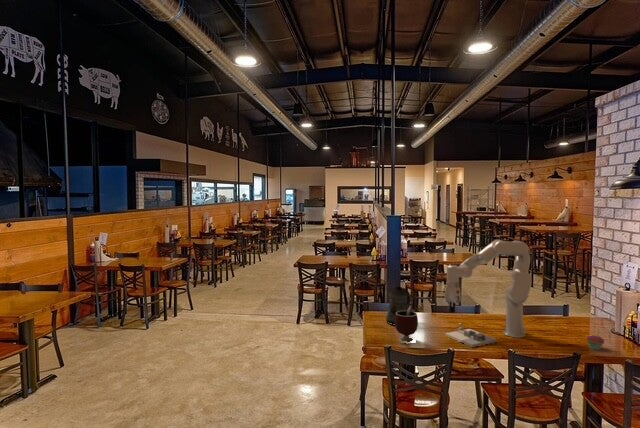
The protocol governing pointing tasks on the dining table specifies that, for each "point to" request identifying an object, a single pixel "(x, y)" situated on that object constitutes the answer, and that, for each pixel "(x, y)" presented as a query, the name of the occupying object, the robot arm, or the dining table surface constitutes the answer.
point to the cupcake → (595, 341)
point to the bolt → (461, 328)
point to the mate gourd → (406, 323)
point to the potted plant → (397, 303)
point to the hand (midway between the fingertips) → (452, 312)
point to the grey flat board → (471, 338)
